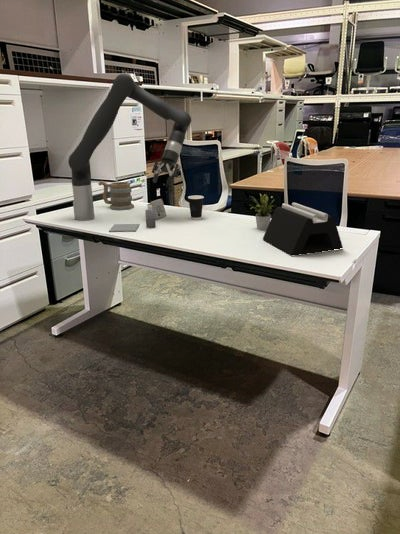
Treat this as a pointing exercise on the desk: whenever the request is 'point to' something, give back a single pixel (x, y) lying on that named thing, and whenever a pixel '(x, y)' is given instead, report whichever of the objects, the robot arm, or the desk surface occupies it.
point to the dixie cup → (196, 206)
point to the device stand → (302, 230)
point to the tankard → (118, 195)
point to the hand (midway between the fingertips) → (161, 183)
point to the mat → (124, 228)
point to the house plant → (263, 213)
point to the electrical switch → (158, 208)
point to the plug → (150, 217)
